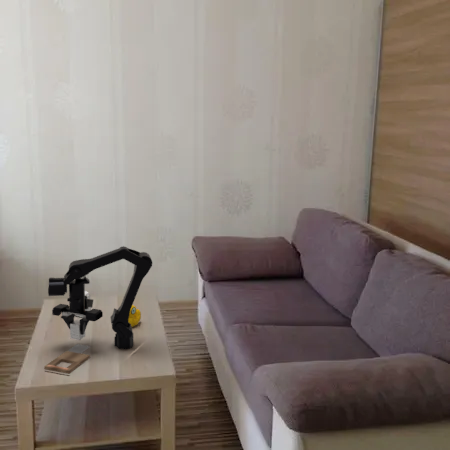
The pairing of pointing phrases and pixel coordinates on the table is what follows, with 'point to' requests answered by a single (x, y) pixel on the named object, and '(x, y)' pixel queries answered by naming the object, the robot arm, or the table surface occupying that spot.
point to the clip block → (76, 330)
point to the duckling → (134, 316)
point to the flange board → (67, 357)
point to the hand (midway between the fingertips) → (77, 333)
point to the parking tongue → (79, 348)
